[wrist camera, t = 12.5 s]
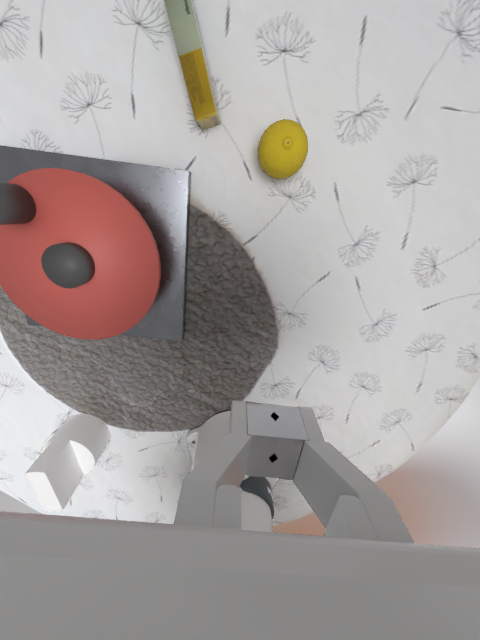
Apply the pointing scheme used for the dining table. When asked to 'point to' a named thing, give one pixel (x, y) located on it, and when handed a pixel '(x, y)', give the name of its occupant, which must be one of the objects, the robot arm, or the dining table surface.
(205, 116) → the medication box
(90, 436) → the base with upright slab
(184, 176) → the valve stand
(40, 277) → the handwheel
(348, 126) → the dining table surface
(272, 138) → the lemon
